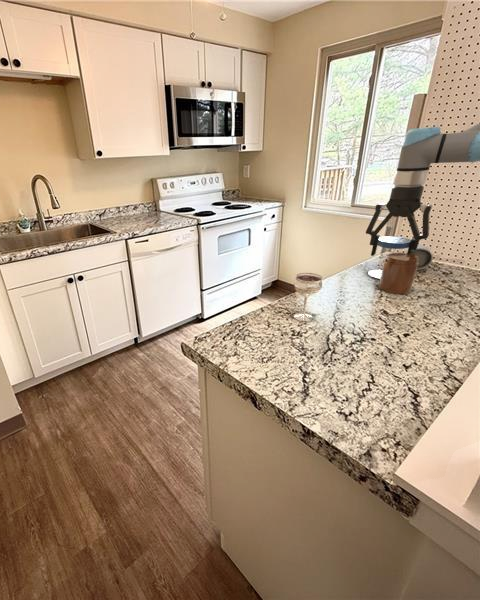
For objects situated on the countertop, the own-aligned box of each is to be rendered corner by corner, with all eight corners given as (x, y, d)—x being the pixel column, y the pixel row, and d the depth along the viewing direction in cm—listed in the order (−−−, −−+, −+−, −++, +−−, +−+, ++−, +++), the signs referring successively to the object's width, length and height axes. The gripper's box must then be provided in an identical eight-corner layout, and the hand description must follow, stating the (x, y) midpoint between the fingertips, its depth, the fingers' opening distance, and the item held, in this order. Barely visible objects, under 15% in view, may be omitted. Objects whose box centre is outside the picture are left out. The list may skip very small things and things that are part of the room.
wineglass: (296, 323, 84) (302, 283, 78) (285, 312, 90) (290, 273, 85) (322, 321, 83) (329, 280, 78) (309, 310, 90) (314, 271, 85)
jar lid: (394, 240, 106) (395, 235, 105) (417, 247, 98) (418, 241, 97) (370, 243, 105) (371, 238, 104) (390, 250, 97) (392, 244, 97)
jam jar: (417, 291, 94) (427, 258, 89) (396, 295, 92) (405, 262, 88) (392, 282, 101) (400, 251, 97) (372, 286, 100) (379, 255, 95)
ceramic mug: (427, 263, 112) (433, 242, 108) (429, 271, 106) (435, 249, 102) (390, 261, 117) (394, 241, 114) (390, 268, 112) (395, 247, 108)
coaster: (411, 277, 102) (412, 276, 102) (387, 283, 101) (387, 282, 100) (383, 268, 111) (384, 267, 111) (360, 273, 110) (360, 272, 109)
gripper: (458, 183, 89) (433, 258, 98) (369, 183, 103) (356, 249, 113) (455, 187, 84) (430, 265, 94) (363, 187, 99) (349, 254, 108)
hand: (389, 256), depth 103 cm, fingers closed on jar lid, 9 cm apart
